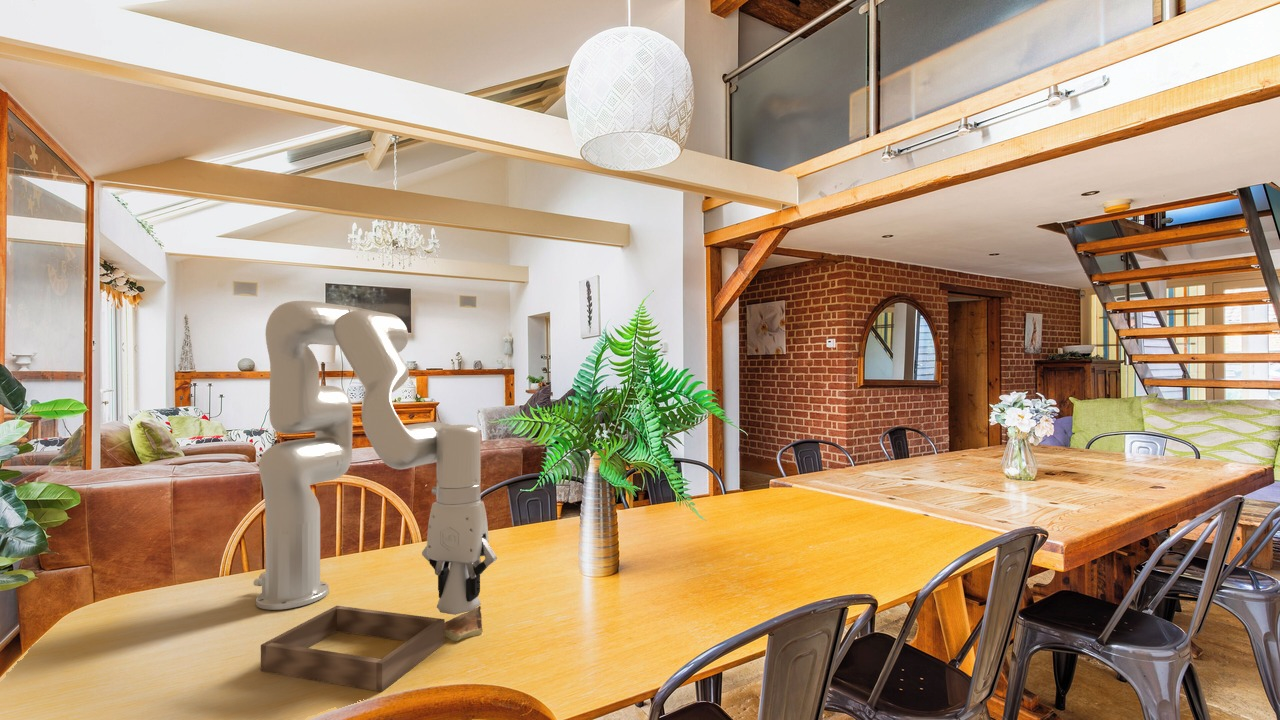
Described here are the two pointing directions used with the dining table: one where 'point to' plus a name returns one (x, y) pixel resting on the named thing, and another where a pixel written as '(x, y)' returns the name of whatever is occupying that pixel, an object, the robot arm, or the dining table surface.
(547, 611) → the dining table surface
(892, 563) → the dining table surface
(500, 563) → the dining table surface
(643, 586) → the dining table surface
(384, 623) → the brown wooden frame
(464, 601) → the flask
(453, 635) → the shard
